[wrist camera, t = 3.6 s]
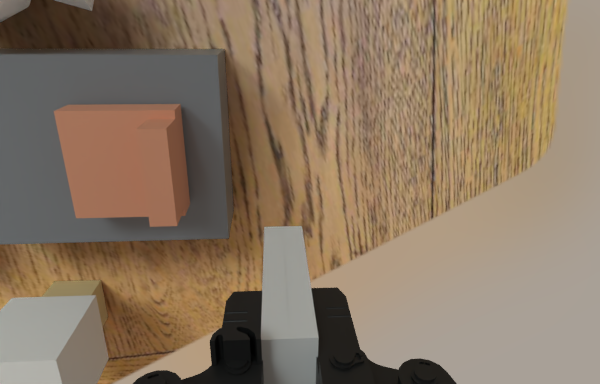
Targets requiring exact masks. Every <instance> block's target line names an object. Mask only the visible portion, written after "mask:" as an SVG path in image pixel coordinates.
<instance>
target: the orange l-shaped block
mask: <svg viewBox="0 0 600 384" xmlns="http://www.w3.org/2000/svg"><path fill="white" fill-rule="evenodd" d="M54 115H55V120H56V125H57V130H58V134H59V139H60V144H61V149H62V154H63V158H64V163H65V168H66V173H67V178H68V182H69V187H70V192H71V197H72V202H73V206H74V211H75V216H76V218H113V217H149V223H150V227H161V226H177V225H178V223H179V221H180V218H181V216H185V215H186V213H187V210H188V208H189V205H190V196H189V186H188V176H187V165H186V155H185V145H184V134H183V124H182V114H181V104H92V105H66V106H64V107H62V108H60V109H57V110H55V111H54Z"/></svg>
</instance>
